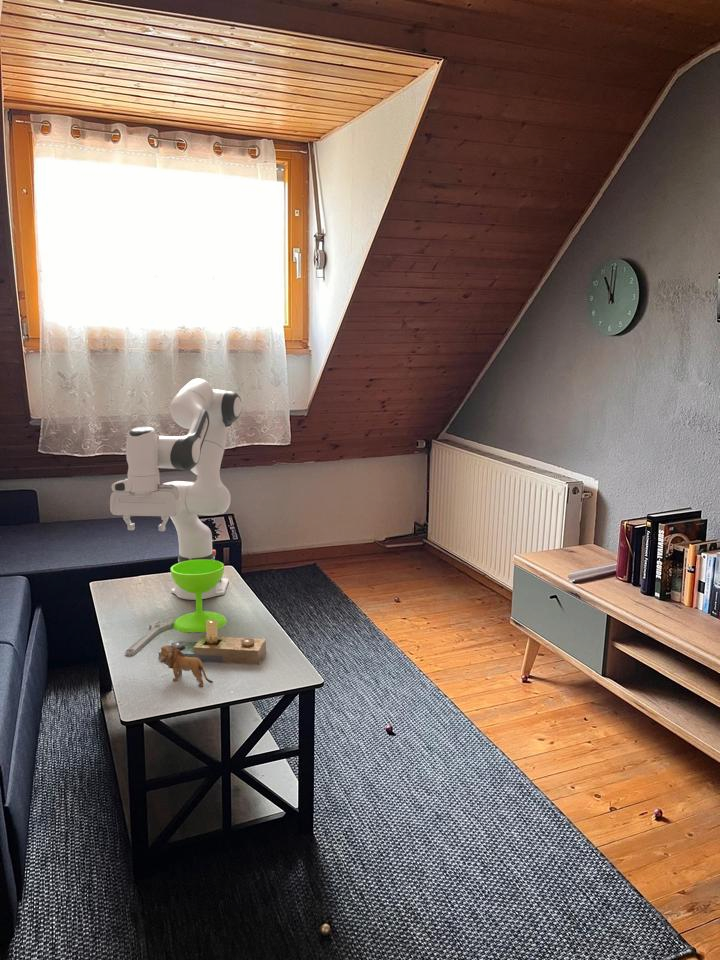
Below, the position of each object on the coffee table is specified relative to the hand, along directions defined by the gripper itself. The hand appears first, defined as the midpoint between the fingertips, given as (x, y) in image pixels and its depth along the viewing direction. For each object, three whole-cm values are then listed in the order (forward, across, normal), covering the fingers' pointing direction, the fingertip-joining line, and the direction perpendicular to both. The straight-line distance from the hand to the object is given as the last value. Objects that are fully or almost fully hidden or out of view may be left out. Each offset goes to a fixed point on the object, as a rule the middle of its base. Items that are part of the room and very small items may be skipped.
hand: (146, 530), depth 219 cm
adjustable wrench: (+32, 0, +5) cm, 32 cm away
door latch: (+31, -24, +15) cm, 42 cm away
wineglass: (+31, -12, -8) cm, 34 cm away
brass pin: (+31, -24, +15) cm, 42 cm away
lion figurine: (+31, -22, +31) cm, 49 cm away
